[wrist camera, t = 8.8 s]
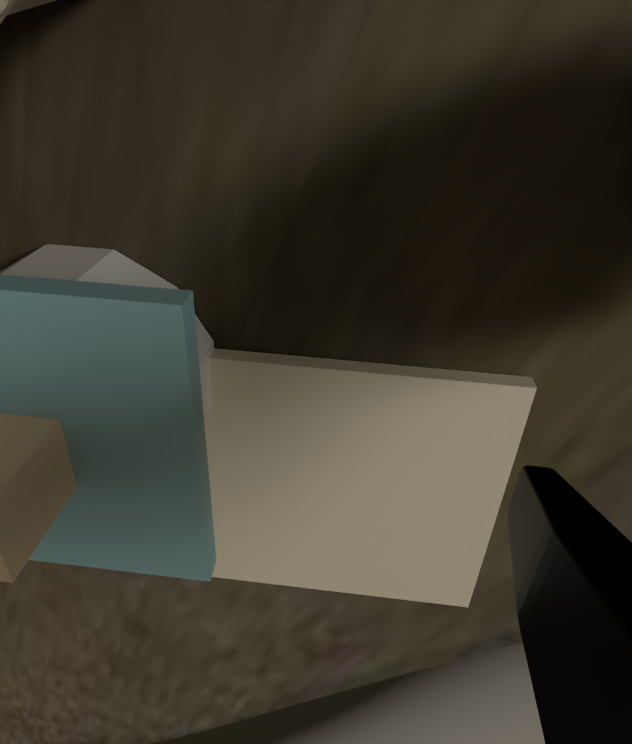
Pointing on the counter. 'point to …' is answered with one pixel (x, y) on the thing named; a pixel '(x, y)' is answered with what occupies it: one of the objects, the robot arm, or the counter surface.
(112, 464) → the lid
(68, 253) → the bowl
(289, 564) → the mat
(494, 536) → the counter surface
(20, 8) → the flower pot
